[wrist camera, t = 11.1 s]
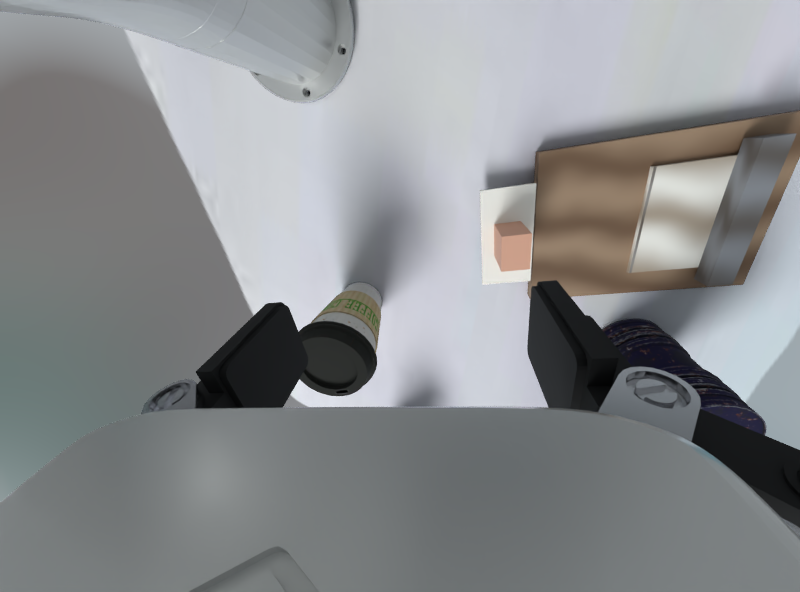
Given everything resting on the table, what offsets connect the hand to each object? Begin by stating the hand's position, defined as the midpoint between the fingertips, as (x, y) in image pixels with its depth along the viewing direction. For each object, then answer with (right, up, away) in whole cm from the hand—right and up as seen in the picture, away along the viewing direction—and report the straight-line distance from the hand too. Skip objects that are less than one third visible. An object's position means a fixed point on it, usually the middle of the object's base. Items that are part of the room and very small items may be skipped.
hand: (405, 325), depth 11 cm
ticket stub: (+13, +8, +24) cm, 29 cm away
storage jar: (+33, -6, +31) cm, 46 cm away
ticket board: (+28, +10, +23) cm, 38 cm away
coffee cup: (-6, +1, +33) cm, 34 cm away
